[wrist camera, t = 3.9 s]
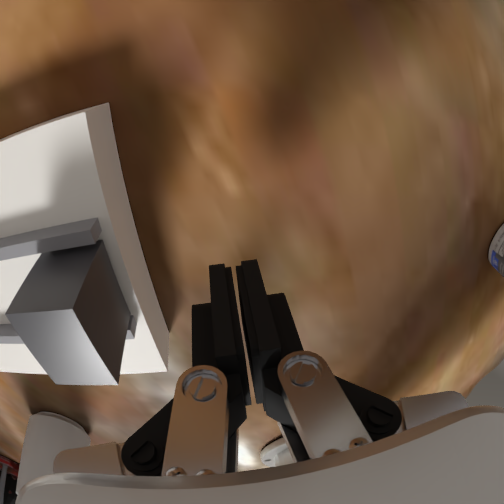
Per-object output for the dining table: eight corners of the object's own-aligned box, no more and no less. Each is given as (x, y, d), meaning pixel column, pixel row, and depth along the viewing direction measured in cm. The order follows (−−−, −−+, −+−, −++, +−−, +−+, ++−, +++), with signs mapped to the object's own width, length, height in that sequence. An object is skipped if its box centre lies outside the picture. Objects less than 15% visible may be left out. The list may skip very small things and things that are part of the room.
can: (21, 401, 23) (1, 499, 13) (84, 416, 24) (74, 524, 14) (41, 430, 26) (30, 513, 16) (96, 442, 28) (91, 531, 18)
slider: (102, 239, 11) (72, 308, 8) (130, 313, 14) (118, 384, 10) (43, 249, 11) (4, 314, 8) (76, 318, 13) (56, 384, 10)
